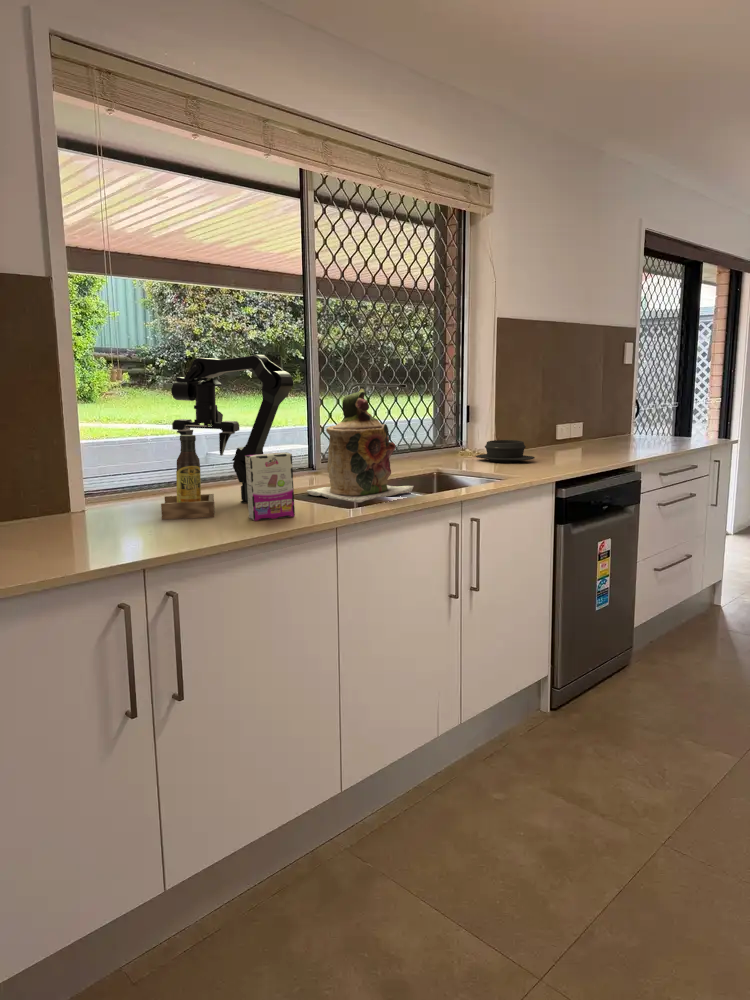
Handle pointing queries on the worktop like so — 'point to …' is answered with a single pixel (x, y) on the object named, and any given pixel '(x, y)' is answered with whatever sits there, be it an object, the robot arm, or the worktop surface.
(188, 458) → the sauce bottle
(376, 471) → the cookie jar
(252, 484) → the candy bar box
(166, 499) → the box
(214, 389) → the robot arm
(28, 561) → the worktop surface
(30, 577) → the worktop surface
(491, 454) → the casserole
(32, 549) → the worktop surface
